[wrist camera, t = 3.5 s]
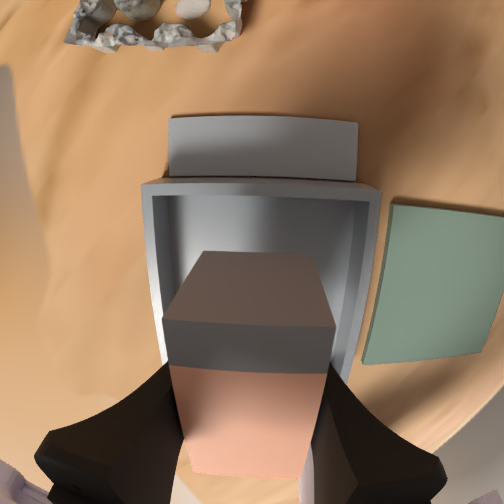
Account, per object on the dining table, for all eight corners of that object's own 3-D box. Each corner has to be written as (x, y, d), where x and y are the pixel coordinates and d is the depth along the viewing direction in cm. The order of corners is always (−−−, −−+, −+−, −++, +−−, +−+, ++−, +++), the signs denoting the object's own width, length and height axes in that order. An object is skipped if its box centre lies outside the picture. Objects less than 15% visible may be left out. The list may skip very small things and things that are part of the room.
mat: (477, 348, 21) (480, 352, 20) (361, 360, 22) (362, 364, 21) (515, 218, 17) (520, 220, 16) (390, 203, 18) (393, 205, 17)
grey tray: (327, 401, 23) (332, 430, 20) (184, 395, 24) (175, 422, 21) (366, 124, 16) (385, 120, 13) (160, 119, 17) (139, 115, 14)
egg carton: (263, -27, 13) (261, -60, 9) (235, 67, 16) (225, 47, 12) (117, -29, 13) (92, -52, 9) (85, 57, 15) (51, 45, 12)
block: (295, 393, 15) (299, 478, 10) (212, 389, 16) (193, 471, 10) (311, 254, 13) (336, 326, 7) (203, 250, 13) (161, 318, 8)
